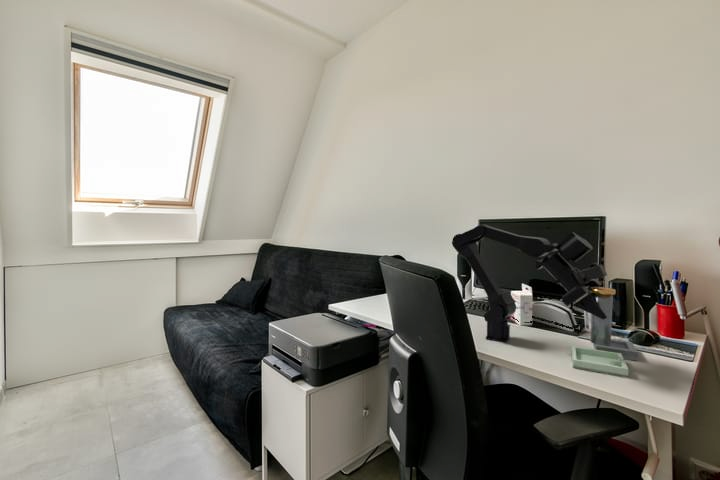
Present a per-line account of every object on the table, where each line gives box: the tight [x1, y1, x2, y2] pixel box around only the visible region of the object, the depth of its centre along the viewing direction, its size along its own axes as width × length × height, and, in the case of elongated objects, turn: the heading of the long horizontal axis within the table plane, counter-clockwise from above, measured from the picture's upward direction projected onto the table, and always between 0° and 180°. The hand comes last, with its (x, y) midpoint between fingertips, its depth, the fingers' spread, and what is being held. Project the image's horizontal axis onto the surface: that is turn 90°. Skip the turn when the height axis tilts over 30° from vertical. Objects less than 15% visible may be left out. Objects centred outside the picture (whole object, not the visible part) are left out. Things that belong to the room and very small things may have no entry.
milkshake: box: [583, 310, 592, 333], centre depth 119 cm, size 4×5×10 cm
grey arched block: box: [532, 300, 580, 332], centre depth 126 cm, size 17×5×10 cm, turn 24°
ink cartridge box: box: [510, 283, 533, 326], centre depth 130 cm, size 9×5×15 cm, turn 179°
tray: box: [571, 345, 629, 379], centre depth 91 cm, size 12×12×2 cm
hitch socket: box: [592, 338, 639, 362], centre depth 99 cm, size 10×10×2 cm
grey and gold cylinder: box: [590, 286, 616, 346], centre depth 91 cm, size 6×6×15 cm
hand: (607, 316), depth 90 cm, fingers closed on grey and gold cylinder, 4 cm apart
